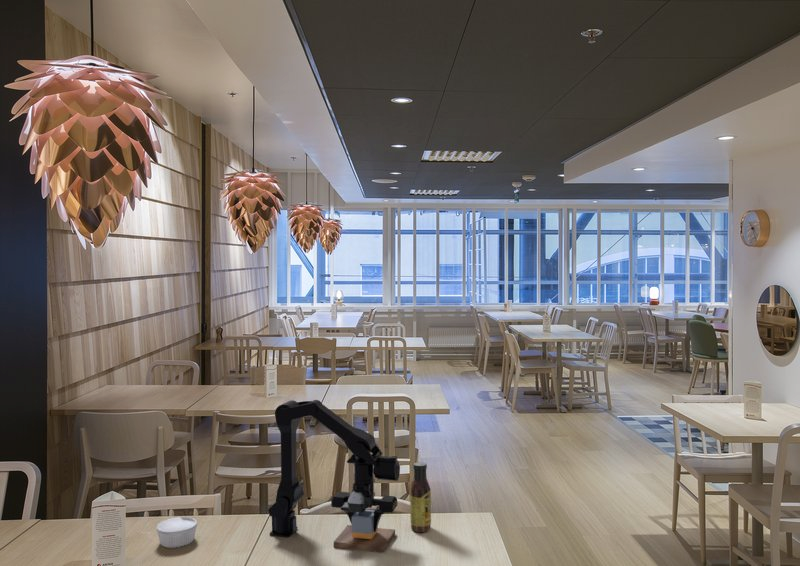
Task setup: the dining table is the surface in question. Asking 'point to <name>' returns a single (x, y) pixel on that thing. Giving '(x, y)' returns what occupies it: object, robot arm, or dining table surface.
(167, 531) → the ramekin
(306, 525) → the dining table surface
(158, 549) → the dining table surface
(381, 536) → the pin board
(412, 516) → the sauce bottle
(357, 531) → the sleeve
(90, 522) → the dining table surface
